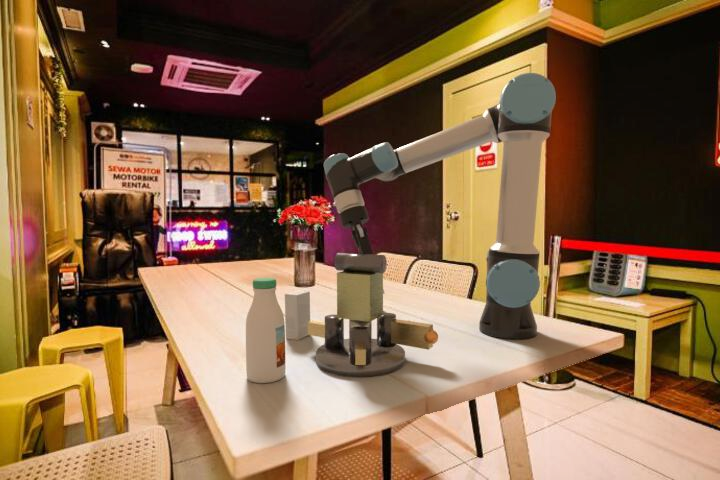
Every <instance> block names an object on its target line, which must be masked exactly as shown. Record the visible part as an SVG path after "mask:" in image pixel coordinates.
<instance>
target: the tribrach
mask: <svg viewBox="0 0 720 480" xmlns="http://www.w3.org/2000/svg"><path fill="white" fill-rule="evenodd" d="M387 262H388V260H387V257H386V255H384V254H373V255H372V254H360V253H351V252H350V253H347V252H337V253H336V254H335V257H334V261H333V264H334V268H335V270H336V271H338V272H336V314H328V315H325V316H324V321H318V320H310V322H308V336H311V337H312V336H313V337H317V338H318V337H319V338H324V344H322V345H320V346H318V348H317V349H316V351H315V364H316V366H317V367H318V368H319V369H320V370H323V371H324V372H325V373H328V374H332V375H336V376H339V377H340V376H341V377H348V378H349V377H350V378H371V377H379V376H384V375H389V374H391V373H395V372H396V371H399V370H400V369H402V368H403V367H404V365H405V363H406V351H405V348H404V347H402V346H401V345H400V344H396V346H394V347H389V348H385V347H379V346H377V338H372V337H373V336H372V330H373V329H372V325H373V324H372V323H373V321H374V320H377V318H378V317H380V316H381V315H383V313H384V294H383V290H384V273H385V272H386V270H387V266H388V265H387ZM344 320H348V327H349V329H348V330H349V331H348V333H349V335H348V336H349V337H348V338H345V333H344V332H345V326H344V325H345V321H344Z"/></svg>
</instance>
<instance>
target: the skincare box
mask: <svg viewBox="0 0 720 480" xmlns="http://www.w3.org/2000/svg"><path fill="white" fill-rule="evenodd" d="M310 295H311V293H310V291H308V290H298V289H296V290H294V291H290V292H288V293H285V294H284V325H285V339H287V340H292V341H293V340H295V341H299V340H302V339H304V338H305V337H307V336H309V335H308V322H310V321H311V296H310Z"/></svg>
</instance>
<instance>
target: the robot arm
mask: <svg viewBox="0 0 720 480" xmlns="http://www.w3.org/2000/svg"><path fill="white" fill-rule="evenodd" d="M556 97H557V96H556V89H555V86H554V85H553V83H552V81H551V80H550V79H549V78H547V77H546V76H544V75H542V74H541V73H540V74H539V73H536V72H526V73H521V74H518V75H517V76H515V77H513V78H511V80H509V81H508V82H507V83H506V84H505V86H504V87H503V89H502V90H501V92H500V95H499V102H498V103H497V104H496V105H494V106H492V107H489V108H487V109H485V111H484V112H483V114H482V115H480V116H479V115H478V116H477V117H475V118H472V119H469V120H466V121H464V122H461V123H458V124H456V125H454V126H451V127H448V128H445V129H444V130H441V131H439V132H436V133H434V134H431V135H428V136H426V137H423V138H420V139H418V140H415V141H413V142H410V143H408V144H406V145H403V146H400V147H399V148H396V149H394V148H393V146H392V145H391V144H390V142H388V141H386V142H382V143H379V144H376V145H374V146H372V147H370V148H368V149H366V150H364V151H362V152H360V153H358V154H355V155H354V156H352V157H349V155H348V154H346V153H344V152H343V153H337V154H332V155H330V156H329V157H327V158H326V159H325V161H324V162H323V168H324V174H325V178H326V180H327V183H328V187H329V190H330V192H331V196H332V199H333V201H334V202H333V203H332V207H335V208H336V210H337V211H336V212H337V213H338V214H339V215H338V218H339V221H340V224H341V226H342V228H343V229H352V230H351V238H352V240H353V241H354V243H355V247H356V249H358V254H372V255H374V254H373V250H372V247H371V245H370V238H369V236H368V230H367V227H366V226H365V227H364V224H366V223H368V221H369V220H370V217H369V213H368V209H367V208H366V206H365V203H366V202H365V201H364V198H363V195H362V191H361V190H360V187H359V186H360V185H361V184H364V183H365V182H368V181H371V180H374V179H378V180H380V181H382V182H390V181H394V180H395V179H398V177H399V176H403V175H405V174H407V173H409V172H413V171H415V170H418V169H421V168H423V167H426V166H430V165H432V164H435V163H438V162H441V161H443V160H445V159H448V158H451V157H453V156H457V155H459V154H461V153H464V152H467V151H469V150H472V149H473V150H474V149H475V148H478V147H480V146H484V145H486V144H489V143H495V144H499V143H501V142H502V144H503V146H502V158H501V160H502V161H501V173H500V184H499V185H500V187H499V200H498V209H497V210H498V211H497V212H498V213H497V223H496V224H497V225H496V235H495V236H496V237H495V242H494V243H493V244H492V245H491V246H490V247H488V250H487V253H486V254H487V255H486V257H485V260H486V277H485V287H486V296H485V297H486V300H485V305H484V308H483V311H482V312H481V313H482V314H481V316H480V319H479V325H478V327H479V332H481V333H482V334H485V335H487V336H491V337H494V338H500V339H509V340H523V339H525V340H526V339H530V338H534V337H536V336H537V335H538V324H537V322H536V318H535V315H534V312H533V309H532V306H531V305H532V303H531V302H532V301H534V299H535V298H536V297H537V295H538V294H539V290H540V286H541V280H540V276H539V265H540V264H539V263H540V253H541V252H540V250H539V249H538V248H537V247H536V246H535V244H534V242H535V232H536V231H535V230H536V229H535V228H536V218H537V207H538V196H539V195H538V194H539V183H540V172H541V171H540V170H541V161H542V146H543V142H545V141H546V140H548V138H549V137H550V136H551V135H550V134H551V125H552V113H553V110H554V108H555V105H556V100H557V98H556ZM384 294H385V290H384V289H383V295H384Z"/></svg>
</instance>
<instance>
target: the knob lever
mask: <svg viewBox="0 0 720 480" xmlns="http://www.w3.org/2000/svg"><path fill="white" fill-rule="evenodd" d="M376 339H377V346H379V347H385V348H389V347H394V346H396V344H397V345H399V346H401V345H402V346H405V347H412V348H418V349H424V350H430V349H432V348H433V347H434V344H436V343H437V342H438V341H439V334H438V333H437V332H436V331H435V329H434V324H432V323H423V322H418V321H410V320H405V319H398V318H397V315H396V314H395V313H392V312H383V315H381V316H380V317H378V318H376Z"/></svg>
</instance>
